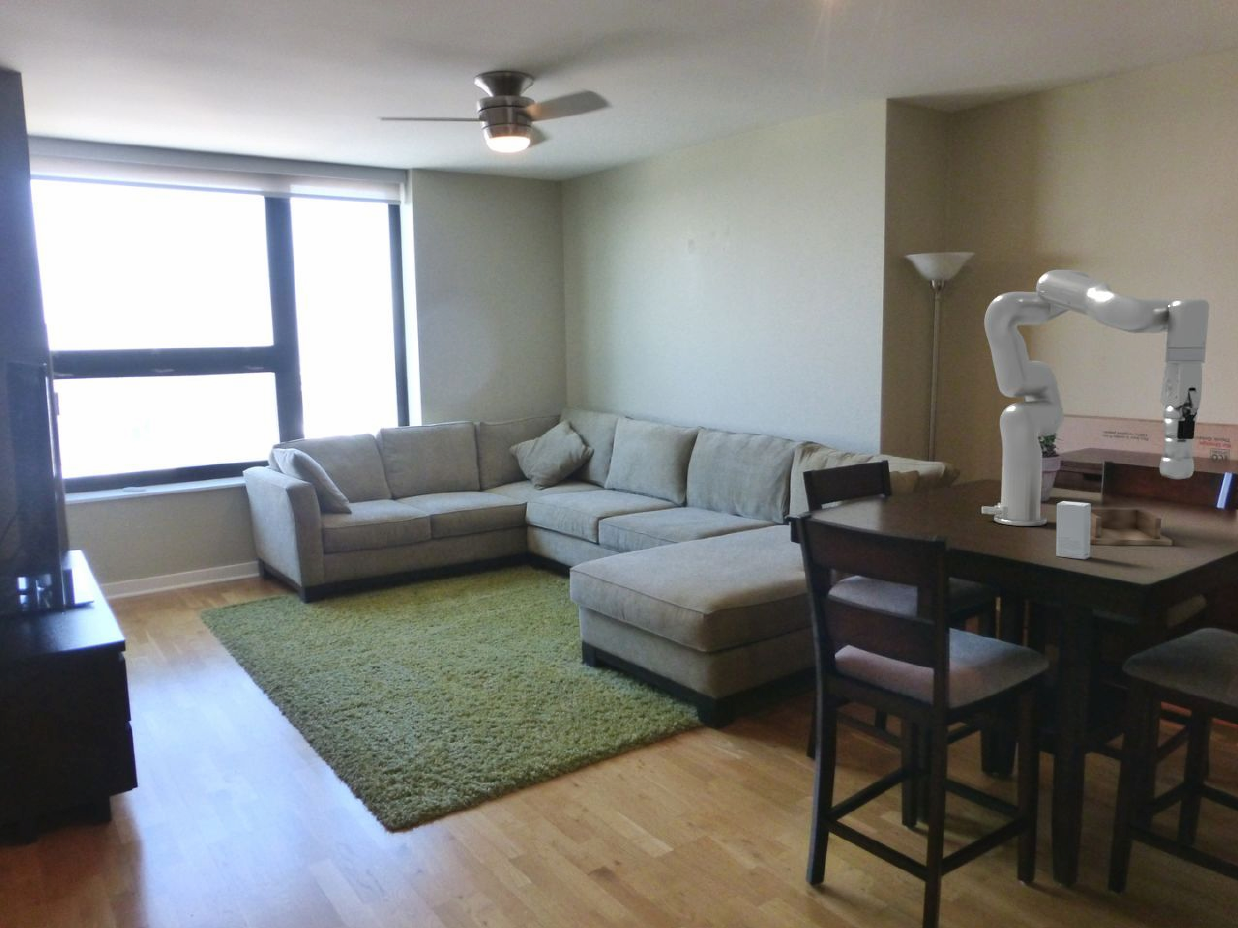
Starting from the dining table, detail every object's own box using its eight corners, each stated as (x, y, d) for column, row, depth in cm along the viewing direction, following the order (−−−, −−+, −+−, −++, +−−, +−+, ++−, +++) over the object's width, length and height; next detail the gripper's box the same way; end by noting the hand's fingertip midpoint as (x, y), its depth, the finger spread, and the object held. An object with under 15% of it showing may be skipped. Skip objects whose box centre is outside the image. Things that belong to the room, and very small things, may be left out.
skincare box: (1090, 556, 203) (1093, 502, 202) (1084, 560, 200) (1086, 505, 199) (1061, 552, 208) (1063, 500, 206) (1054, 556, 204) (1056, 502, 203)
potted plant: (1042, 507, 262) (1045, 420, 259) (985, 497, 279) (988, 415, 276) (1082, 500, 271) (1086, 416, 268) (1025, 492, 288) (1028, 412, 285)
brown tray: (1087, 544, 215) (1088, 519, 214) (1067, 530, 231) (1068, 506, 230) (1171, 545, 212) (1173, 520, 211) (1145, 531, 228) (1146, 507, 227)
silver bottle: (1198, 481, 203) (1205, 391, 200) (1164, 480, 204) (1171, 390, 201) (1186, 476, 209) (1193, 388, 206) (1153, 476, 210) (1160, 388, 207)
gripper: (1151, 355, 212) (1145, 432, 214) (1182, 357, 195) (1176, 441, 198) (1187, 354, 210) (1181, 432, 213) (1221, 357, 193) (1214, 442, 196)
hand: (1178, 436), depth 205 cm, fingers closed on silver bottle, 6 cm apart
